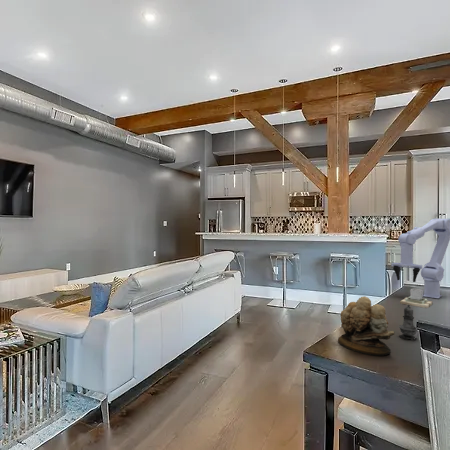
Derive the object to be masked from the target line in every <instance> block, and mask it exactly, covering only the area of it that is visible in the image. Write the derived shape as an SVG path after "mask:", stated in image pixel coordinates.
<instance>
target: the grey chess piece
mask: <svg viewBox="0 0 450 450" xmlns="http://www.w3.org/2000/svg"><path fill="white" fill-rule="evenodd" d="M402 318H403V321H402V322H403V323H402V324H400V325H399V326H398V327H399V330H400V332H401V333H402V334H400V335H399V338H400V339H402V340H406V339H414V338H415V337H416V336H415V335H416V334H417V332H418V330H417V329H418V328H417V327H416V326H415V325H414V319H415V317H414V309H413V307H411V305H409V304H408V305H406V306H405V307H404V308H403V315H402ZM416 328H417V329H416Z"/></svg>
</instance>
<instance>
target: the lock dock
mask: <svg viewBox="0 0 450 450" xmlns="http://www.w3.org/2000/svg"><path fill="white" fill-rule="evenodd" d="M399 304H400V305H406V306H408V304H409V305H410V306H413V307H419V308H424V309H428V308H430V307H431V306H432V305H433V304H434V302H433V301H431V300H428V298H424V297H423V301H417V300H411V299H410V296H408V297H404V299H402V300H400V301H399Z"/></svg>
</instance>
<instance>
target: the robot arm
mask: <svg viewBox="0 0 450 450" xmlns="http://www.w3.org/2000/svg"><path fill="white" fill-rule="evenodd" d="M432 230H433V232H434V233H435V234H436V235H437V236H438V237H437V240H436V242H435V243H436V244H435V246H434V249H433V251H432V254H431V257H430V260H429V262H427V263H425V264H424V266H423V265H422V264H416V263H414V259H413V257H414V244H415V243H416V242H417V240H419V239H421V238H422V237H424V236H425V234H426V233H427V232H429V231H432ZM397 240H398V243H399V246H400V262H391V267H392V269H393V270H394V272H395V276H396V279H397V281H400V280H401V268H408V269H412V273H413V274H412V275H413V277H412V282H413V283H416V281H417V277H418V275H419V272H420V275H421V278H422V280H423V298H424V297H426V298H432V299H440V298H441V297H443V295H442V294H440V293H441V282H442V280H443V278H444V276H445V275H444V271H445V269H444V267H443V266H442V263H443V259H444V257H445V255H446V252H447V249H448V246H449V243H450V217H449V218H448V217H447V218H437V217H435V218H432V219H430V220H429V221H428V222H426V223H425V224H424V225H422V226H420V227H419V226H415V227H413V229H411V230H408V231H407V232H405V233H401V234H400V235H399V236H398V238H397Z"/></svg>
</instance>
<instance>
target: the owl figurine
mask: <svg viewBox="0 0 450 450" xmlns="http://www.w3.org/2000/svg"><path fill="white" fill-rule="evenodd" d="M340 321H341V322H340V323H341V324H340V325H341V328H342V329H343V332H344V333H342V335H341V336H339V337H338V338H337V342H338V344H339V345H340V346H341V347H343V348H346V349H348V350H350V351H354V352H355V353H359V354H363V355H367V356H375V357H382V356H387V355H389V354H390V353H391V348H390V346H388V344H386V343H385V342H383V341H382V340H385V341H387V340H390V339H391V337H392V336H394V335H395V332H394V330H388V328H389V322H388V319H387V316H386V308H385V307H384V306H383V305H381V304H377V303H376V304H373V305H372V300H371V299H370V298H369V297H367V296H361V297H359V298H358V299H357V300H356V301H351V302H349V303H348V304H347V305H346V306H345V308H344V309H343V310H341V312H340Z"/></svg>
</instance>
